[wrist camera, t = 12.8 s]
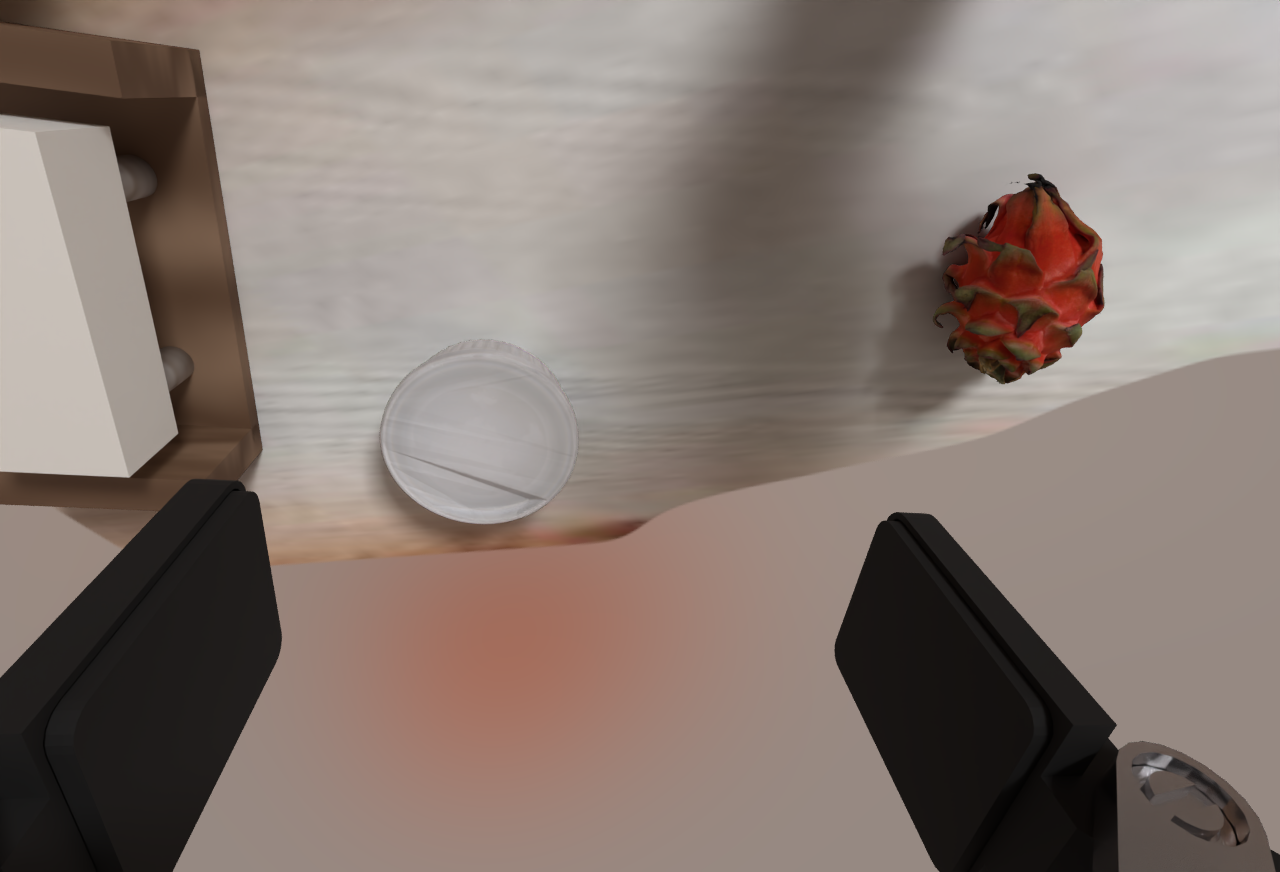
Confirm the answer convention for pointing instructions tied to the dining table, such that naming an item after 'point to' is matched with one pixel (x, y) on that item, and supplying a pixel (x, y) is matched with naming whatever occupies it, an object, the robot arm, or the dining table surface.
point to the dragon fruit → (1024, 284)
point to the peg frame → (151, 249)
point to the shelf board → (73, 309)
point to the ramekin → (480, 433)
